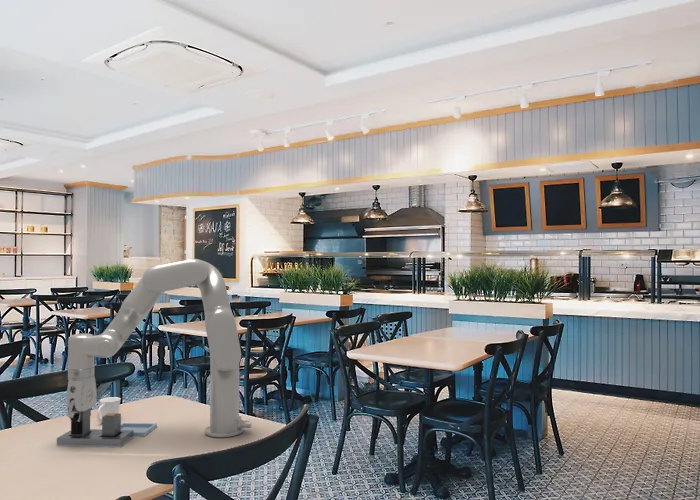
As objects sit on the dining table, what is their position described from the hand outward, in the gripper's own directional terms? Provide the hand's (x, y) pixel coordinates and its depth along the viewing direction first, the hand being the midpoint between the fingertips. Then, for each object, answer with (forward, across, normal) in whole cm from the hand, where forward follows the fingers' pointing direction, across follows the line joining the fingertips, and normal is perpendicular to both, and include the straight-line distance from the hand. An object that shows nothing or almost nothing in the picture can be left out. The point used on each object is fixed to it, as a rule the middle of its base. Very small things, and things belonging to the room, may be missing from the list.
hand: (80, 431), depth 174 cm
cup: (+4, +21, +2) cm, 21 cm away
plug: (+1, 0, 0) cm, 1 cm away
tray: (+4, +11, -12) cm, 17 cm away
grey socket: (+4, 0, -5) cm, 6 cm away
